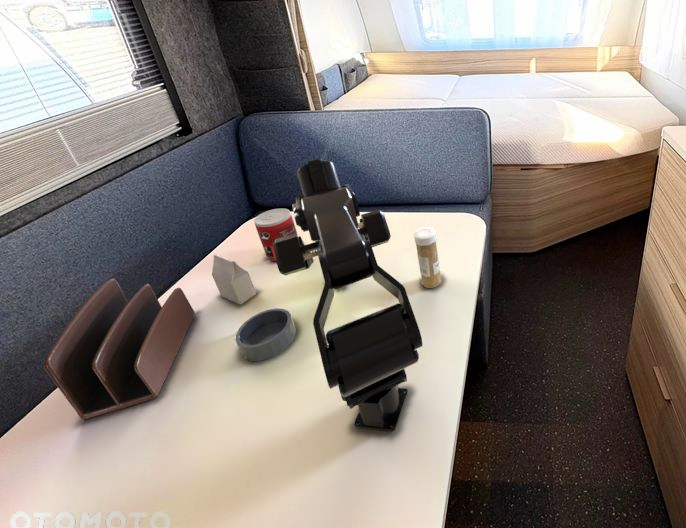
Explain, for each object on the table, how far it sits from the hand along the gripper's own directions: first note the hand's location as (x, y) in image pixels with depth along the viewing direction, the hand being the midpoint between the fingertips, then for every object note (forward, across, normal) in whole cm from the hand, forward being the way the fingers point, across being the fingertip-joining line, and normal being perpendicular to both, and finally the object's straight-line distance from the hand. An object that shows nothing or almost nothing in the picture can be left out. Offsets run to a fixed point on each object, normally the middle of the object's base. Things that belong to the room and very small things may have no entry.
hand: (336, 250), depth 76 cm
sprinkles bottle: (+7, -17, +12) cm, 22 cm away
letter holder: (+13, +35, +6) cm, 38 cm away
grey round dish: (+8, +15, +11) cm, 20 cm away
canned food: (+29, +11, -10) cm, 32 cm away
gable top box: (+21, +21, -2) cm, 29 cm away
